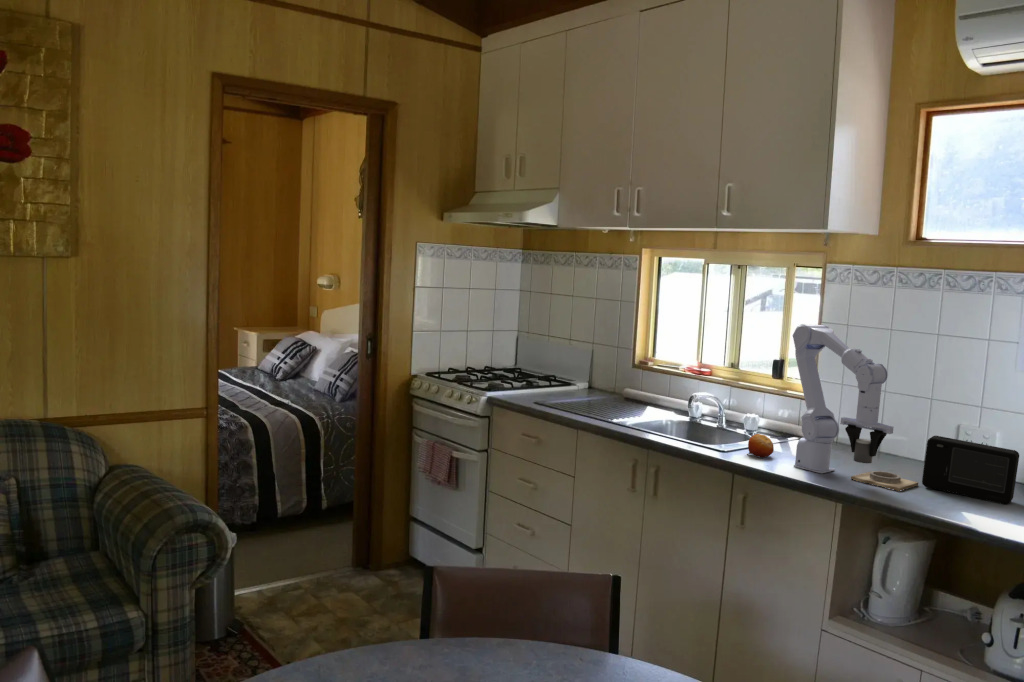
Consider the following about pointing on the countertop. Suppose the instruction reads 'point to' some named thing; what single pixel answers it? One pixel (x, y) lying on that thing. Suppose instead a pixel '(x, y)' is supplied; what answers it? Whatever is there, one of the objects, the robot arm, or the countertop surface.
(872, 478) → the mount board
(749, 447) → the fruit
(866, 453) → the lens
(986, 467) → the black box
